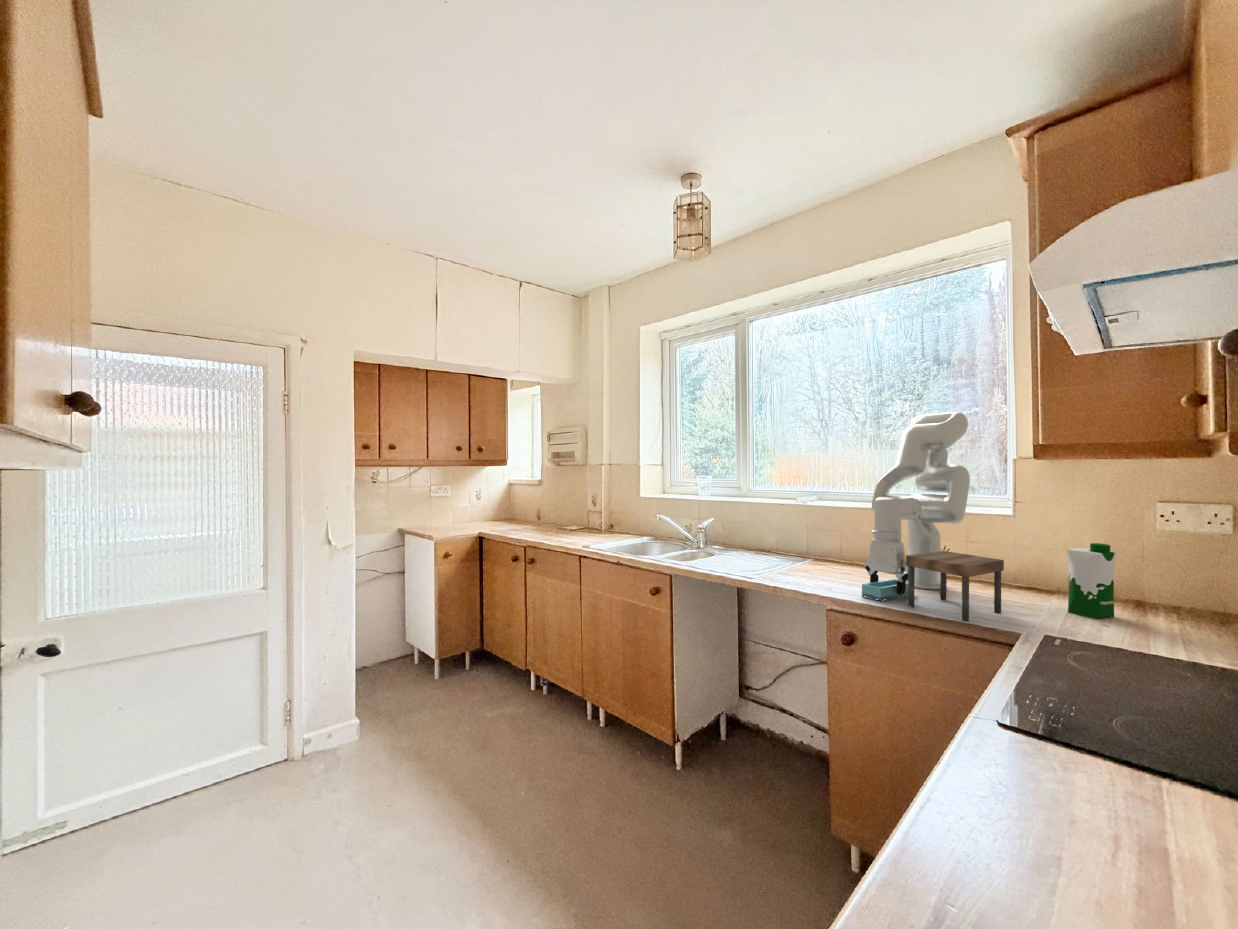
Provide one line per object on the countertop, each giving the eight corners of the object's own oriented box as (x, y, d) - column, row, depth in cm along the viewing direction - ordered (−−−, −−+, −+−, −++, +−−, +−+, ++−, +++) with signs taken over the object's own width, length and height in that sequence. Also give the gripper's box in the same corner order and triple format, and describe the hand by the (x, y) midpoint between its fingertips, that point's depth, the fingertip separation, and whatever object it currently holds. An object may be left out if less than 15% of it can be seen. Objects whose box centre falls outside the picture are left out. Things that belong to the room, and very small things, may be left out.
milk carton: (1099, 620, 137) (1100, 546, 137) (1061, 611, 145) (1061, 541, 145) (1120, 617, 140) (1121, 544, 139) (1081, 608, 148) (1082, 540, 148)
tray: (861, 596, 161) (861, 584, 161) (894, 590, 169) (894, 578, 169) (880, 601, 156) (880, 588, 156) (912, 595, 163) (912, 582, 163)
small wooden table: (905, 606, 151) (906, 555, 151) (942, 598, 159) (942, 550, 159) (967, 622, 136) (967, 566, 136) (1003, 613, 144) (1003, 560, 144)
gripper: (855, 533, 168) (855, 586, 168) (906, 540, 153) (906, 598, 153) (870, 532, 172) (870, 583, 172) (921, 539, 156) (921, 595, 156)
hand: (887, 590), depth 162 cm, fingers open, 8 cm apart
